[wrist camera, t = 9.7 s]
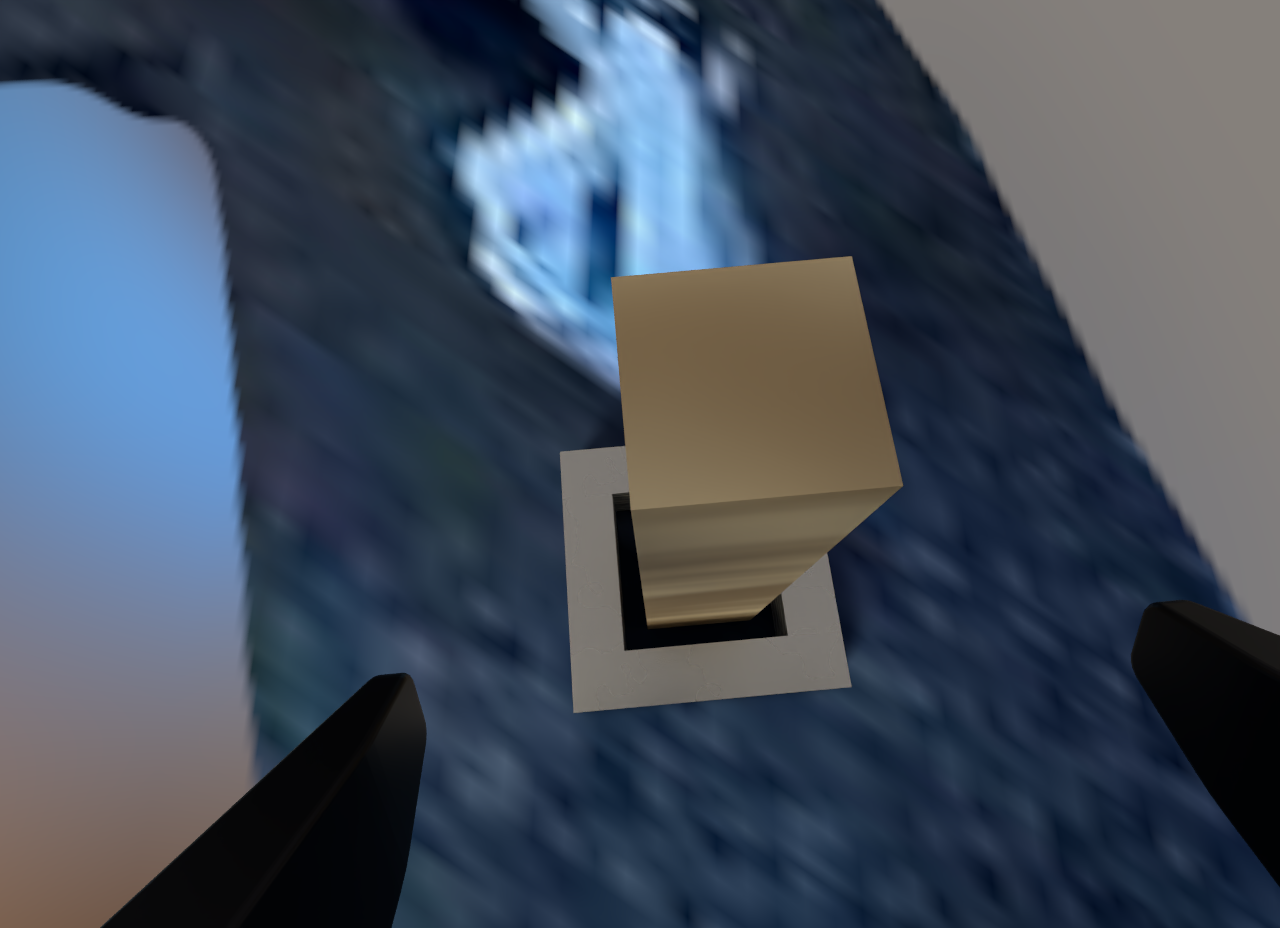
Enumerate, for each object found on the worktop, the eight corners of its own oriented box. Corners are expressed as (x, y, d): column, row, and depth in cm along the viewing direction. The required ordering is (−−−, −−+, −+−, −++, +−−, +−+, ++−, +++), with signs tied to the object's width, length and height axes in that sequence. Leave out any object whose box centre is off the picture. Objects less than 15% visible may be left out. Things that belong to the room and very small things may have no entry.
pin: (750, 620, 21) (903, 485, 8) (648, 629, 21) (631, 511, 8) (736, 520, 22) (851, 255, 9) (639, 529, 22) (611, 277, 9)
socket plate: (833, 688, 20) (851, 687, 19) (581, 711, 20) (573, 712, 19) (792, 452, 23) (804, 429, 21) (568, 472, 23) (560, 452, 21)
